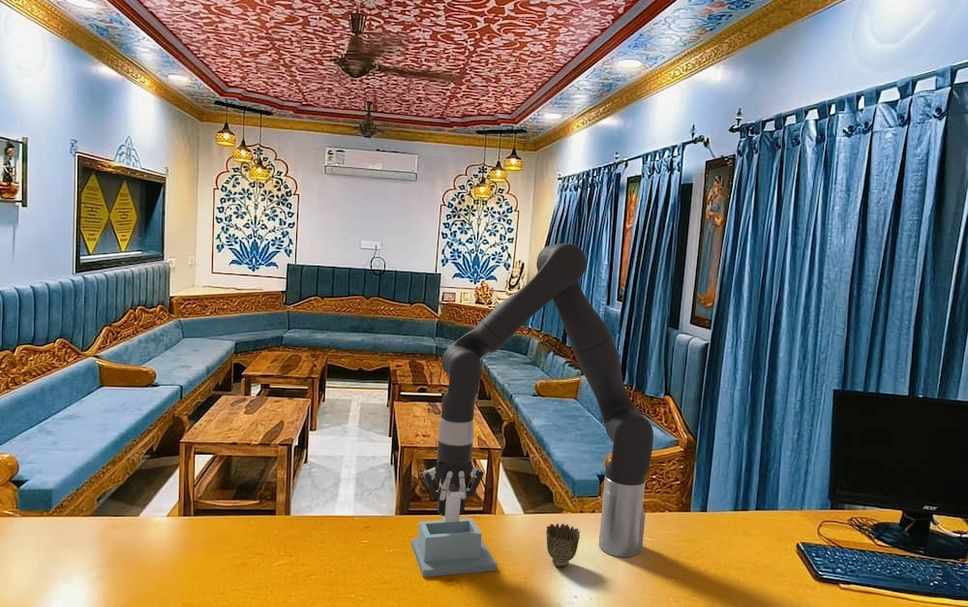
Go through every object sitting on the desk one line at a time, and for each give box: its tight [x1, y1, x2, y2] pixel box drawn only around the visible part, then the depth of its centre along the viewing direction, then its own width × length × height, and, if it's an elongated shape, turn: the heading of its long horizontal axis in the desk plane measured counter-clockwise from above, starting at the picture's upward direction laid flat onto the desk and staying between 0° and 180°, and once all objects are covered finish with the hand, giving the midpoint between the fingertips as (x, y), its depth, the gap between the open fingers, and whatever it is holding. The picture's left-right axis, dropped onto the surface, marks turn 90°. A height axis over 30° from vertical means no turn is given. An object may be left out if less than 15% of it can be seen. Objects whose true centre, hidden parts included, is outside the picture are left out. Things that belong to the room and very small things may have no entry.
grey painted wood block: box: [441, 484, 465, 522], centre depth 140 cm, size 3×6×8 cm, turn 17°
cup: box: [545, 523, 581, 569], centre depth 142 cm, size 8×7×8 cm
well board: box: [410, 517, 497, 578], centre depth 143 cm, size 16×14×7 cm
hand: (450, 513), depth 142 cm, fingers closed on grey painted wood block, 3 cm apart
